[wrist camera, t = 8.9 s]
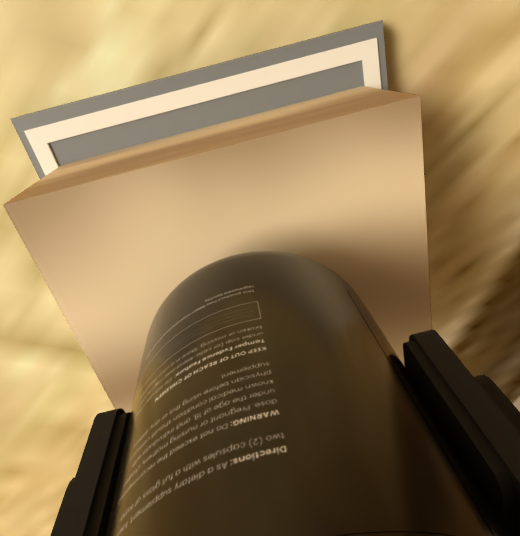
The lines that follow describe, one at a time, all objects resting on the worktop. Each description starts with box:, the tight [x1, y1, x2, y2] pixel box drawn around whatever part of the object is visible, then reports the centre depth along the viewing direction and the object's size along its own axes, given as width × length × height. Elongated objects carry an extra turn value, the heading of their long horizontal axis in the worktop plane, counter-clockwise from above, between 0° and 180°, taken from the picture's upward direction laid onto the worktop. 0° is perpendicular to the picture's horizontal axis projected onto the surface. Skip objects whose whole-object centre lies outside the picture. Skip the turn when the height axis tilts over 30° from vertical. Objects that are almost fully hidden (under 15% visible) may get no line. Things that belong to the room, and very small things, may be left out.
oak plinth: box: [3, 86, 432, 413], centre depth 16 cm, size 12×12×5 cm
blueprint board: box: [11, 20, 388, 179], centre depth 19 cm, size 16×14×1 cm
